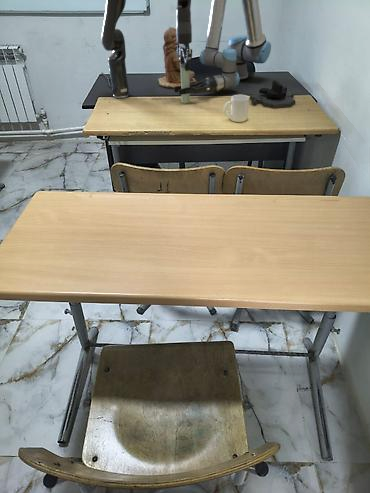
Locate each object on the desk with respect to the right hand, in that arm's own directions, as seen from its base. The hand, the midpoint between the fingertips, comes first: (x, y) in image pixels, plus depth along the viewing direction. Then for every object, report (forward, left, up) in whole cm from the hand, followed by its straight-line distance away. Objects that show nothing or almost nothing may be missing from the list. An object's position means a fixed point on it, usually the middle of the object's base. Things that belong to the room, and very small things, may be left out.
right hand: (176, 91), depth 189 cm
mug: (+3, +38, -7) cm, 39 cm away
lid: (-5, +2, +13) cm, 14 cm away
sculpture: (-32, -24, -7) cm, 40 cm away
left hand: (-5, +2, +10) cm, 11 cm away
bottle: (-5, +2, -7) cm, 9 cm away
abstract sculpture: (-30, +42, -7) cm, 53 cm away
